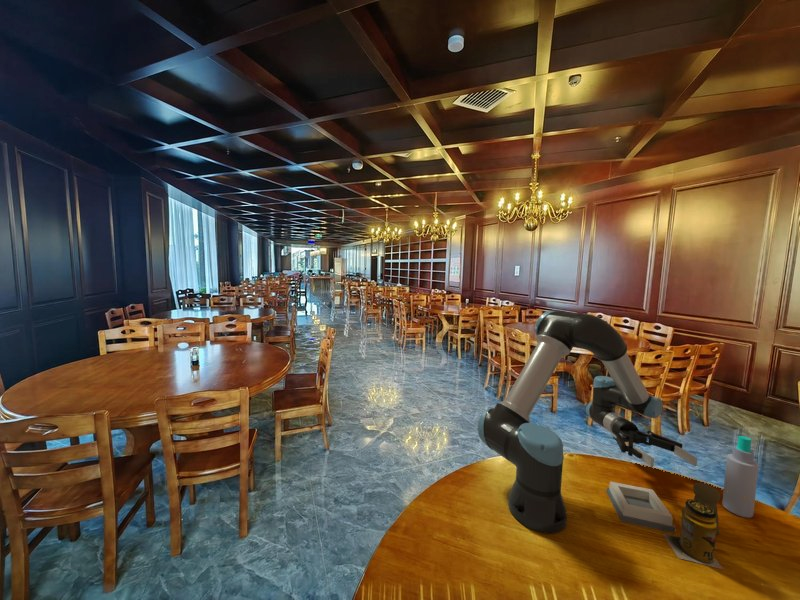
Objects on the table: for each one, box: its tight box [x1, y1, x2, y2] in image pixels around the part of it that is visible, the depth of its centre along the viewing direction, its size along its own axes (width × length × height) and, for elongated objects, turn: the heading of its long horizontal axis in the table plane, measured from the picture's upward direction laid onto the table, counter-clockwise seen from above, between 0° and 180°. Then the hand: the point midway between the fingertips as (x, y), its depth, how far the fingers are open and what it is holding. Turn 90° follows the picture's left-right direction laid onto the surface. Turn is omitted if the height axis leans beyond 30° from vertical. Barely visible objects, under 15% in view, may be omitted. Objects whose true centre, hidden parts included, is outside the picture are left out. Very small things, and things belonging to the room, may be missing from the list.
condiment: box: [662, 498, 724, 569], centre depth 74 cm, size 7×8×12 cm
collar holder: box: [606, 481, 676, 534], centre depth 87 cm, size 12×12×4 cm
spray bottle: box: [721, 435, 760, 519], centre depth 87 cm, size 6×6×22 cm
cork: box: [692, 482, 721, 535], centre depth 82 cm, size 6×6×11 cm
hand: (674, 462), depth 92 cm, fingers open, 13 cm apart
